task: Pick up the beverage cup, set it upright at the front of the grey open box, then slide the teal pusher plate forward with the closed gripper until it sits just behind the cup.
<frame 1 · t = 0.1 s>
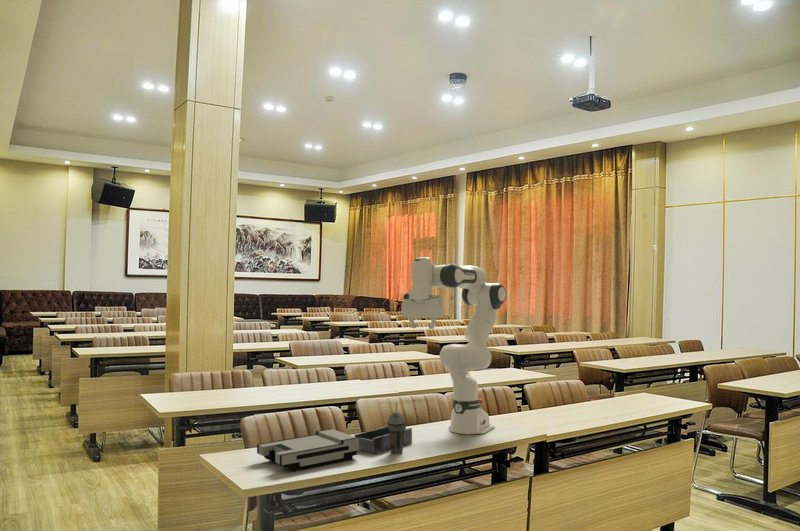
hand: (422, 328, 251), 48 cm above the table, fingers open, 8 cm apart
beverage cup: (396, 453, 235), on the table
game console: (308, 462, 226), on the table
grey open box: (383, 446, 246), on the table
pusher: (397, 431, 253), point 4 cm above the table, slide at 0.0 cm
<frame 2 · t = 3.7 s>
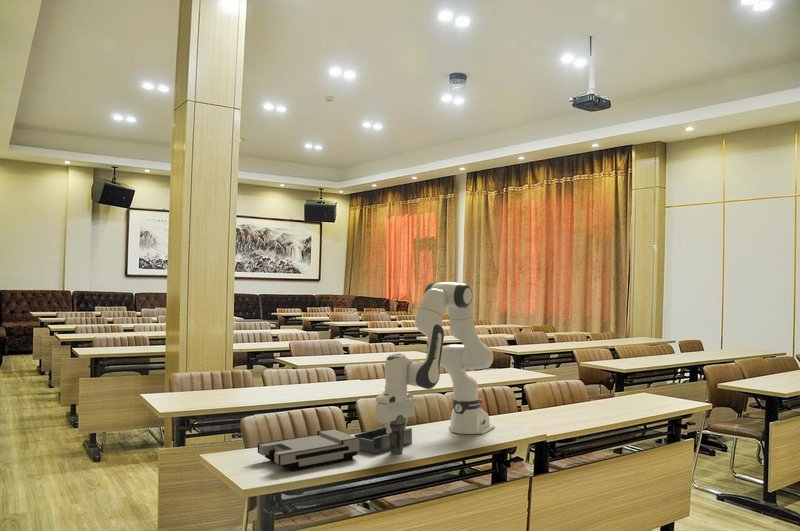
hand: (396, 431, 236), 8 cm above the table, fingers open, 7 cm apart
beverage cup: (396, 453, 235), on the table, touching arm, gripper
everything else where it was.
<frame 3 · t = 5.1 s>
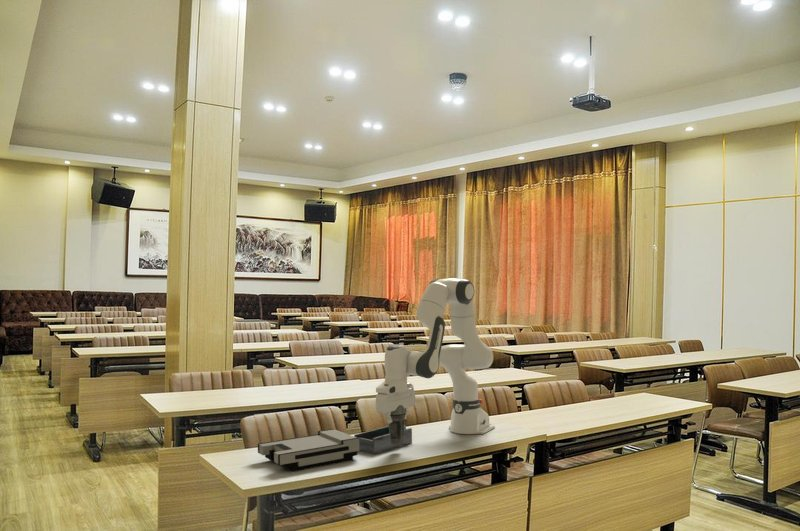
hand: (396, 421, 236), 12 cm above the table, fingers closed on beverage cup, 7 cm apart
beverage cup: (397, 443, 236), point 4 cm above the table, touching arm, gripper
everything else where it was.
when the fingers open (10 cm above the table, at t = 9.5 s): beverage cup moves 1 cm, resting on grey open box.
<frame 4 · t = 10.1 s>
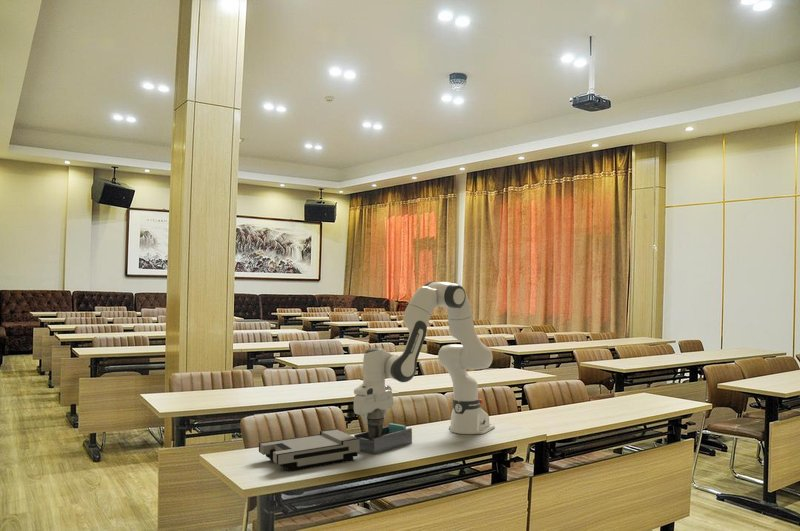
hand: (374, 422, 242), 11 cm above the table, fingers open, 8 cm apart
beverage cup: (375, 447, 241), point 1 cm above the table, touching gripper, grey open box
everything else where it was.
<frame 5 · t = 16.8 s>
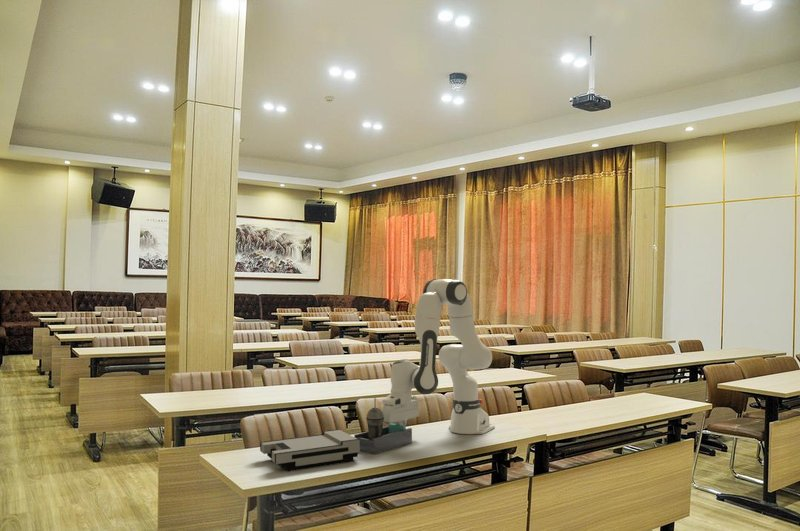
hand: (401, 430, 255), 4 cm above the table, fingers closed
beverage cup: (375, 447, 241), point 1 cm above the table, touching grey open box
pusher: (397, 432, 252), point 4 cm above the table, slide at 0.2 cm, touching gripper
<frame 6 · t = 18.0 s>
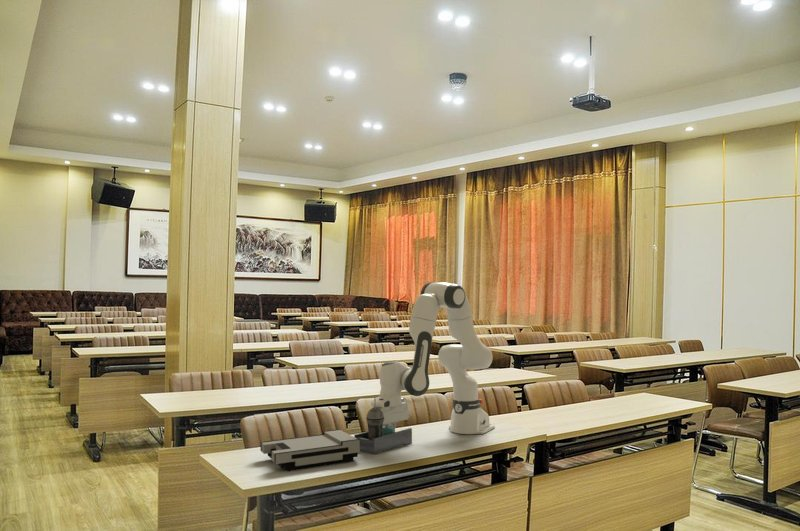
hand: (390, 433, 250), 4 cm above the table, fingers closed
pusher: (386, 434, 247), point 4 cm above the table, slide at 7.0 cm, touching gripper
everything else where it was.
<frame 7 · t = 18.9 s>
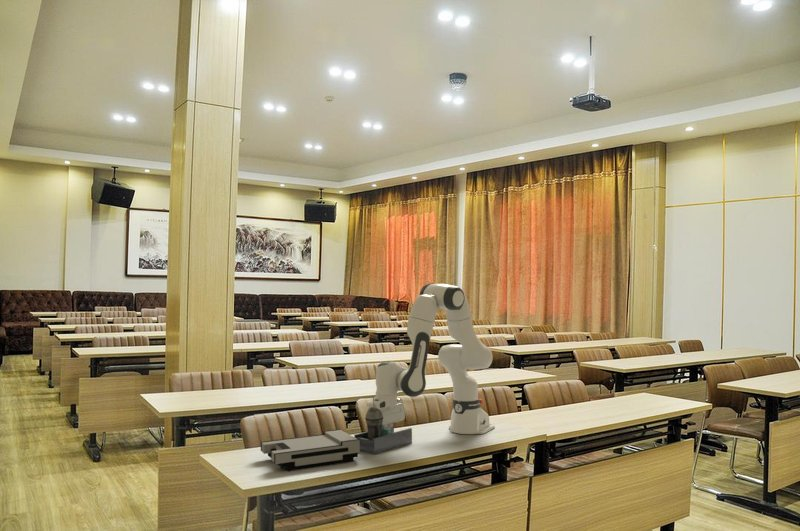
hand: (386, 434, 248), 4 cm above the table, fingers closed
beverage cup: (375, 447, 241), point 1 cm above the table, touching arm, grey open box
pusher: (381, 436, 245), point 4 cm above the table, slide at 9.6 cm, touching gripper
everything else where it was.
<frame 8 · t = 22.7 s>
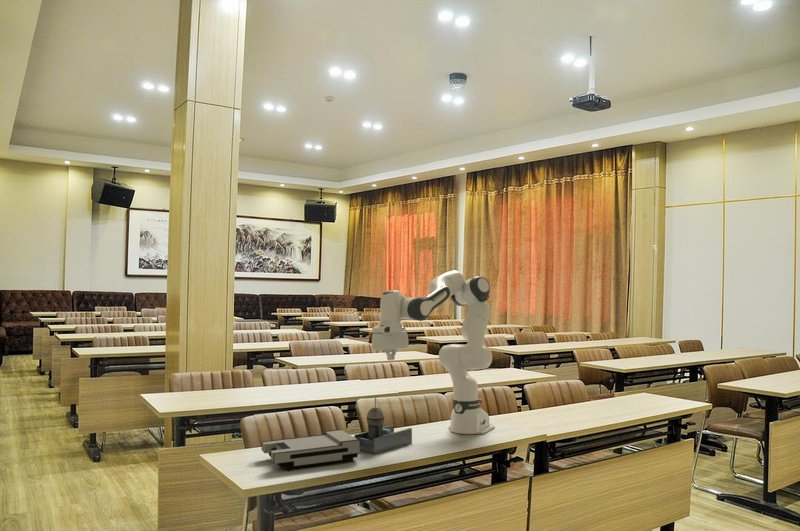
hand: (390, 360, 257), 34 cm above the table, fingers closed
beverage cup: (375, 447, 241), point 1 cm above the table, touching grey open box
pusher: (381, 436, 245), point 4 cm above the table, slide at 9.6 cm
at the end: beverage cup inside the target area on the grey open box (0.8 cm from its centre), point 1.0 cm above the grey open box's base; beverage cup tilted 4°; pusher slide at 9.6 cm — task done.
